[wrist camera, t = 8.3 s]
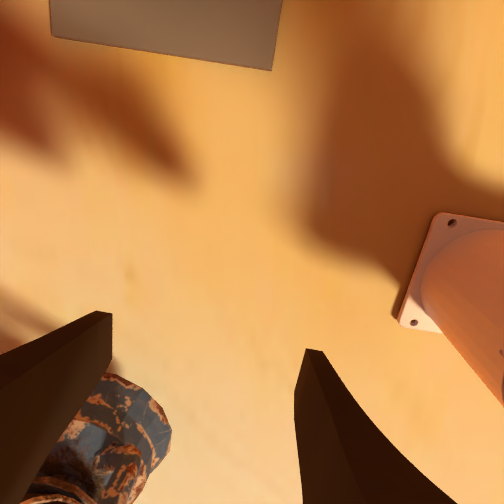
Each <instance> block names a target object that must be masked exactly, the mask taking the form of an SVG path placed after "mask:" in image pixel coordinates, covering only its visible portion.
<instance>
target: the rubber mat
mask: <svg viewBox="0 0 504 504" xmlns="http://www.w3.org/2000/svg"><path fill="white" fill-rule="evenodd" d="M281 5H282V0H50V13H51V29H52V36H54V37H57V38H63V39H69V40H76V41H82V42H88V43H95V44H101V45H108V46H114V47H120V48H127V49H133V50H139V51H146V52H152V53H159V54H165V55H171V56H178V57H184V58H190V59H197V60H203V61H210V62H216V63H222V64H229V65H235V66H242V67H248V68H254V69H261V70H267V71H272V65H273V58H274V52H275V45H276V38H277V32H278V25H279V19H280V12H281Z"/></svg>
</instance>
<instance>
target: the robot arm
mask: <svg viewBox="0 0 504 504" xmlns="http://www.w3.org/2000/svg"><path fill="white" fill-rule="evenodd" d="M451 219H453V220H454V221H453V224H452V225H450V226H448V222H449V220H451ZM414 319H416V320H415V322H413V323H410V322H411V320H414ZM397 321H398V323H399V325H400V326H402V327H405V328H411V329H417V330H423V331H429V332H434V333H440V334H444V335H445V336H446V337H447V339H448V340H449V341H450V342H451V343H452V345H453V346H454V347H455V348H456V349H457V351H458V352H459V353H460V354H461V356H462V357H463V358H464V359H465V360H466V362H467V363H468V364H469V365H470V367H471V368H472V369H473V370H474V371H475V373H476V374H477V375H478V376H479V378H480V379H481V380H482V381H483V382H484V384H485V385H486V386H487V387H488V389H489V390H490V391H491V392H492V393H493V395H494V396H495V397H496V398H497V400H498V401H499V402H500V403H501V404H502V406H503V407H504V222H500V221H494V220H488V219H482V218H475V217H469V216H463V215H457V214H451V213H445V212H442V213H438V214H437V215H435V216H434V218H433V220H432V223H431V226H430V229H429V231H428V234H427V237H426V240H425V243H424V245H423V248H422V251H421V254H420V256H419V259H418V262H417V265H416V267H415V270H414V273H413V276H412V279H411V281H410V284H409V287H408V290H407V292H406V295H405V298H404V301H403V304H402V306H401V309H400V312H399V315H398V317H397ZM111 360H112V313H106V312H101V311H94V312H92V313H90V314H88V315H85V316H83V317H81V318H79V319H77V320H75V321H73V322H71V323H69V324H67V325H65V326H63V327H61V328H59V329H57V330H55V331H53V332H51V333H49V334H47V335H44V336H42V337H40V338H38V339H36V340H33V341H31V342H29V343H27V344H24V345H22V346H20V347H18V348H15V349H13V350H11V351H8V352H6V353H3V354H1V355H0V504H20V502H21V501H22V499H23V497H24V495H25V493H26V492H27V490H28V488H29V486H30V485H31V483H32V481H33V480H34V478H35V476H36V475H37V473H38V471H39V469H40V468H41V466H42V464H43V463H44V461H45V459H46V458H47V456H48V454H49V453H50V451H51V450H52V448H53V447H54V445H55V444H56V442H57V441H58V439H59V438H60V437H61V435H62V434H63V432H64V431H65V430H66V428H67V427H68V426H69V424H70V423H71V421H72V420H73V419H74V417H75V416H76V415H77V413H78V412H79V410H80V409H81V408H82V406H83V405H84V403H85V402H86V401H87V399H88V398H89V396H90V395H91V394H92V392H93V391H94V389H95V388H96V387H97V385H98V384H99V382H100V380H101V378H102V377H103V375H104V373H105V371H106V369H107V367H108V365H109V364H110V362H111ZM294 421H295V431H296V440H297V449H298V457H299V466H300V475H301V483H302V496H303V504H457V503H456V502H455V501H454V500H452V499H451V498H450V497H449V496H448V495H446V494H445V493H444V492H443V491H442V490H440V489H439V488H438V487H437V486H436V485H435V484H433V483H432V482H431V481H430V480H429V479H428V478H427V477H426V476H424V475H423V474H422V473H421V472H420V471H419V470H418V469H417V468H416V467H415V466H414V465H413V464H412V463H411V462H410V461H409V460H408V459H407V458H406V457H404V456H403V455H402V454H401V453H400V452H399V451H398V449H397V448H396V447H395V446H394V445H393V444H392V443H391V442H390V441H389V440H388V439H387V438H386V437H385V436H384V434H383V433H382V432H381V431H380V430H379V429H378V428H377V427H376V425H375V424H374V423H373V422H372V421H371V420H370V418H369V417H368V416H367V415H366V413H365V412H364V411H363V410H362V408H361V407H360V406H359V404H358V403H357V402H356V400H355V399H354V398H353V396H352V395H351V393H350V392H349V391H348V389H347V388H346V386H345V385H344V383H343V382H342V380H341V379H340V377H339V376H338V374H337V373H336V371H335V370H334V368H333V367H332V365H331V364H330V362H329V360H328V359H327V357H326V356H325V354H324V353H323V351H318V350H313V349H307V348H306V350H305V354H304V358H303V361H302V365H301V369H300V372H299V376H298V380H297V384H296V387H295V391H294Z"/></svg>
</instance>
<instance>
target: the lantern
mask: <svg viewBox="0 0 504 504" xmlns="http://www.w3.org/2000/svg"><path fill="white" fill-rule="evenodd" d="M171 433H172V430H171V427H170V425H169V422H168V420H167V418H166V415H165V413H164V410H163V408H162V407H161V406H160V405H159V404H158V403H157V402H156V401H155V400H154V399H153V398H152V397H151V396H150V395H149V394H148V393H147V392H146V391H145V390H144V389H143V388H141V387H139V386H137V385H135V384H133V383H131V382H129V381H127V380H125V379H123V378H121V377H119V376H117V375H115V374H109V373H104V375H103V377H102V378H101V380H100V382H99V384H98V385H97V387H96V388H95V389H94V391H93V392H92V394H91V395H90V396H89V398H88V399H87V401H86V402H85V403H84V405H83V406H82V408H81V409H80V410H79V412H78V413H77V415H76V416H75V417H74V419H73V420H72V421H71V423H70V424H69V426H68V427H67V428H66V430H65V431H64V432H63V434H62V435H61V437H60V438H59V439H58V441H57V442H56V444H55V445H54V447H53V448H52V450H51V451H50V453H49V454H48V456H47V458H46V459H45V461H44V463H43V464H42V466H41V468H40V469H39V471H38V473H37V475H36V476H35V478H34V480H33V481H32V483H31V485H30V486H29V488H28V490H27V492H26V493H25V495H24V497H23V499H22V501H21V502H20V504H132V503H133V502H134V501H135V500H136V498H137V497H138V496H139V494H140V493H141V492H142V490H143V488H144V486H145V483H146V481H147V479H148V476H149V474H150V473H151V472H152V471H153V470H154V469H155V468H156V467H157V466H158V465H159V464H160V463H161V461H162V460H163V459H164V457H165V456H166V455H167V453H168V452H169V451H170V443H171Z"/></svg>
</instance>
